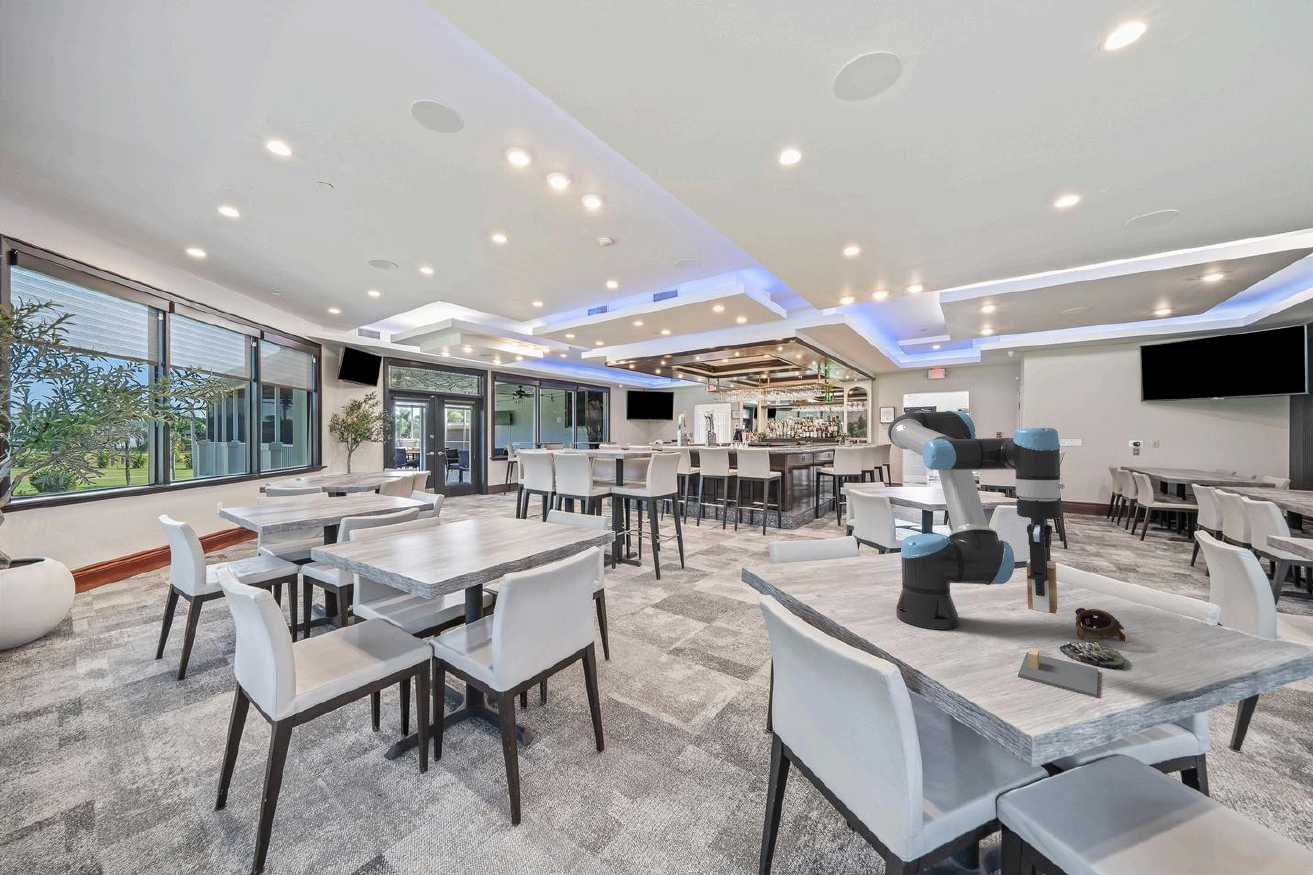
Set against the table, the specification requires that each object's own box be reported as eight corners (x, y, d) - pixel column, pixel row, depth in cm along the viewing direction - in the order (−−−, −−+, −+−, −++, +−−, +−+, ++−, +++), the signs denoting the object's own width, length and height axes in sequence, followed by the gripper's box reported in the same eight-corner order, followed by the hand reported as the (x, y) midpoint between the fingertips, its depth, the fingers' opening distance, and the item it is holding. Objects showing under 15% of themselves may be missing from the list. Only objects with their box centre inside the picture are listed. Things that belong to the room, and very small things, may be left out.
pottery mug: (1141, 649, 110) (1132, 622, 109) (1101, 664, 112) (1091, 638, 110) (1096, 618, 122) (1087, 593, 120) (1060, 632, 123) (1051, 608, 122)
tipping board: (1018, 676, 97) (1017, 659, 97) (1026, 654, 107) (1026, 638, 107) (1096, 697, 89) (1096, 678, 89) (1098, 671, 99) (1097, 654, 99)
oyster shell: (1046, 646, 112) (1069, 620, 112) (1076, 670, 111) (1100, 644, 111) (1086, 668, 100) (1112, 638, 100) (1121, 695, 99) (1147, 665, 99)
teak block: (1028, 608, 100) (1026, 562, 100) (1030, 603, 103) (1029, 558, 103) (1055, 613, 97) (1053, 565, 97) (1057, 608, 100) (1055, 561, 100)
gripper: (1057, 503, 92) (1062, 622, 91) (1064, 496, 104) (1068, 600, 104) (1010, 501, 97) (1014, 613, 96) (1022, 494, 109) (1025, 594, 109)
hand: (1042, 607), depth 100 cm, fingers closed on teak block, 4 cm apart
